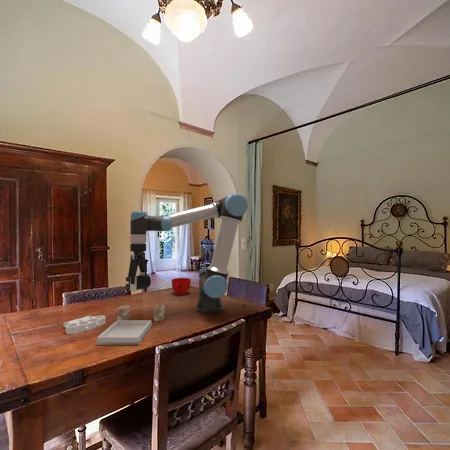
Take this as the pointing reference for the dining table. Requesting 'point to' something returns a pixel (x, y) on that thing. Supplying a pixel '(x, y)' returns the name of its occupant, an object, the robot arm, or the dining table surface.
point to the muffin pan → (83, 324)
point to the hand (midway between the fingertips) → (137, 288)
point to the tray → (125, 332)
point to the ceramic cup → (181, 285)
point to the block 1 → (123, 313)
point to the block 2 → (159, 313)
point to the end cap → (140, 282)
